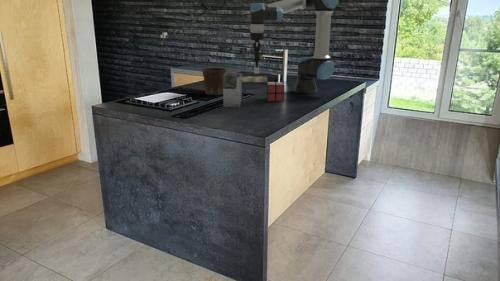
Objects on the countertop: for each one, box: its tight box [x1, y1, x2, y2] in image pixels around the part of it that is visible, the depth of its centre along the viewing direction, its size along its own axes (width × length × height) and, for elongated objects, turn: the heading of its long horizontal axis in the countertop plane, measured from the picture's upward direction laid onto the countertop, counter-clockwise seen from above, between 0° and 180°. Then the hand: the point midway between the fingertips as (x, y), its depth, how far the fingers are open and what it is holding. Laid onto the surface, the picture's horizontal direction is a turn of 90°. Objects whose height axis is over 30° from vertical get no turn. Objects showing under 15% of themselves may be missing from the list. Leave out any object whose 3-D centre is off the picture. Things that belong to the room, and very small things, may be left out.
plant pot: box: [201, 67, 228, 96], centre depth 254 cm, size 16×16×16 cm
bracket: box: [222, 72, 243, 108], centre depth 227 cm, size 10×19×16 cm, turn 179°
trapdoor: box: [223, 72, 268, 86], centre depth 226 cm, size 24×16×6 cm, turn 89°
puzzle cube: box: [266, 81, 285, 102], centre depth 238 cm, size 10×10×10 cm
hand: (256, 71), depth 224 cm, fingers open, 11 cm apart
